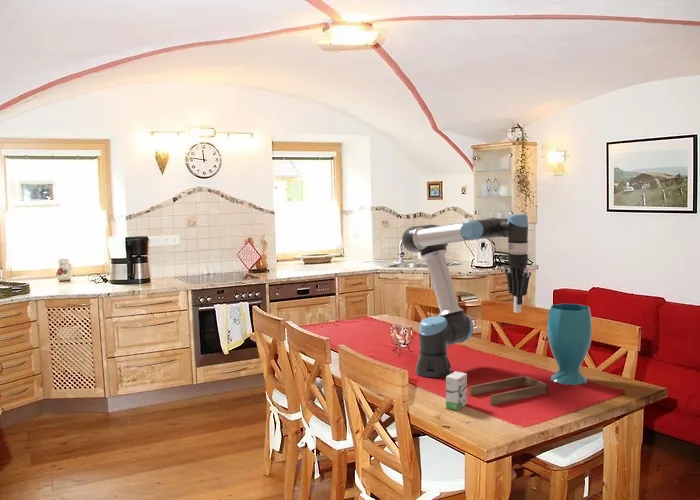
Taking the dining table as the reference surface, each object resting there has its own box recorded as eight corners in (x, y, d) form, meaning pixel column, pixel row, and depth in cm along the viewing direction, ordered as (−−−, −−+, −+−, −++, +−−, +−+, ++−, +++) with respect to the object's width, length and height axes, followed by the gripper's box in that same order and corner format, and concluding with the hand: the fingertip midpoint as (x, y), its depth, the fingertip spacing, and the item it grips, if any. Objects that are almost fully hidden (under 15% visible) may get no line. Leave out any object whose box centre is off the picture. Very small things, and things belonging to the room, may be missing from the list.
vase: (567, 388, 260) (568, 313, 256) (537, 376, 275) (538, 305, 272) (600, 382, 267) (602, 308, 263) (570, 371, 282) (571, 301, 279)
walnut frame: (469, 395, 254) (469, 386, 254) (524, 383, 267) (524, 375, 266) (491, 405, 242) (491, 396, 242) (548, 393, 255) (548, 384, 254)
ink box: (457, 410, 238) (457, 378, 236) (445, 408, 240) (445, 376, 239) (467, 403, 245) (467, 372, 244) (455, 401, 248) (455, 370, 246)
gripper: (499, 252, 265) (499, 310, 267) (521, 255, 253) (521, 316, 256) (514, 251, 268) (513, 308, 271) (536, 254, 256) (536, 314, 259)
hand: (517, 312), depth 263 cm, fingers closed
